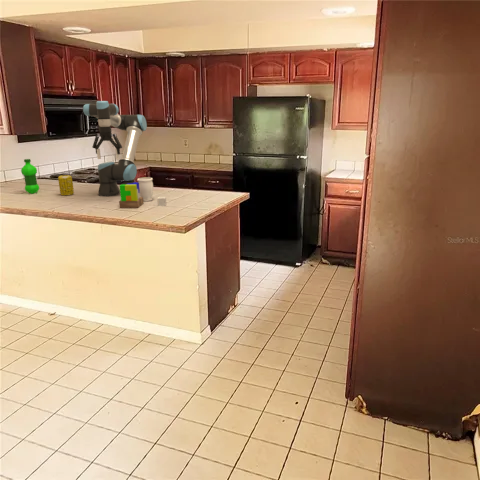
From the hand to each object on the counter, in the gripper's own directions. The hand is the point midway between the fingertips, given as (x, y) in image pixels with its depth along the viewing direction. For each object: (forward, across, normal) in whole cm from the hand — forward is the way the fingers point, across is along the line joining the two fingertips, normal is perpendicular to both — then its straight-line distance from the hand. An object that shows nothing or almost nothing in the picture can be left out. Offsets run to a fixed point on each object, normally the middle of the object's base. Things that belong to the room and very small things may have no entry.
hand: (108, 159), depth 280 cm
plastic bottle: (+29, -74, +14) cm, 81 cm away
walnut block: (+29, +18, -9) cm, 36 cm away
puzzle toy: (+24, +18, -10) cm, 32 cm away
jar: (+29, +21, +8) cm, 37 cm away
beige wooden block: (+29, +37, -3) cm, 47 cm away
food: (+29, -44, +13) cm, 54 cm away
